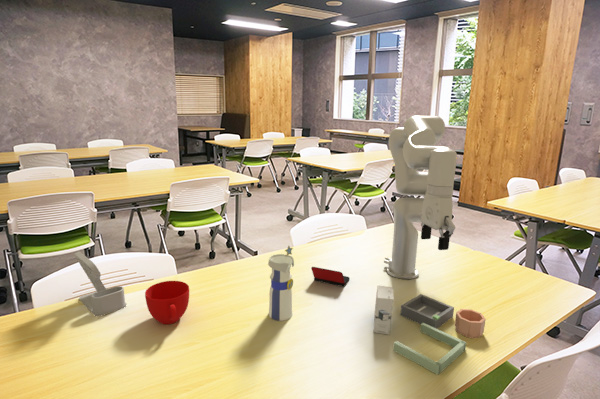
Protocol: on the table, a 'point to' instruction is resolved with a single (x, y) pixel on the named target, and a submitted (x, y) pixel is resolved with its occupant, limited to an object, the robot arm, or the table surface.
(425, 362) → the pale green horseshoe bracket
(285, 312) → the water bottle
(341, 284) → the handheld game console
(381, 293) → the ink box
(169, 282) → the ceramic cup
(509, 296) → the table surface
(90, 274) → the grey hollow angled piece
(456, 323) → the cup
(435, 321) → the tray
